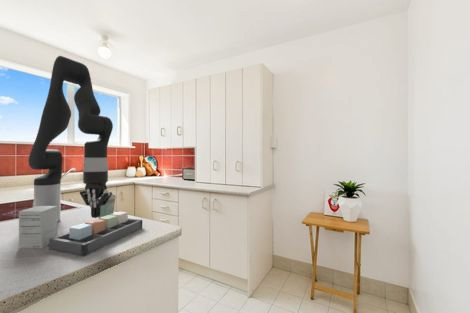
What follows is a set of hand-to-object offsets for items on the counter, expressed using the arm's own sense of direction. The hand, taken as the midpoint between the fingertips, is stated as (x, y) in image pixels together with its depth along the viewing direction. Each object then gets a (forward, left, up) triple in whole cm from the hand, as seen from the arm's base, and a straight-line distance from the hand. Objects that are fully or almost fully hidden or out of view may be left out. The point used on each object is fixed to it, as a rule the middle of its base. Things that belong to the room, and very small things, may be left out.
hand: (95, 217), depth 77 cm
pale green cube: (0, +6, -5) cm, 7 cm away
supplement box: (-16, -8, -9) cm, 20 cm away
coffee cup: (-18, +21, -9) cm, 29 cm away
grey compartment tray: (0, +3, -9) cm, 9 cm away
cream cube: (0, +11, -5) cm, 12 cm away
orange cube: (0, 0, -5) cm, 5 cm away
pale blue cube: (0, -5, -5) cm, 8 cm away
